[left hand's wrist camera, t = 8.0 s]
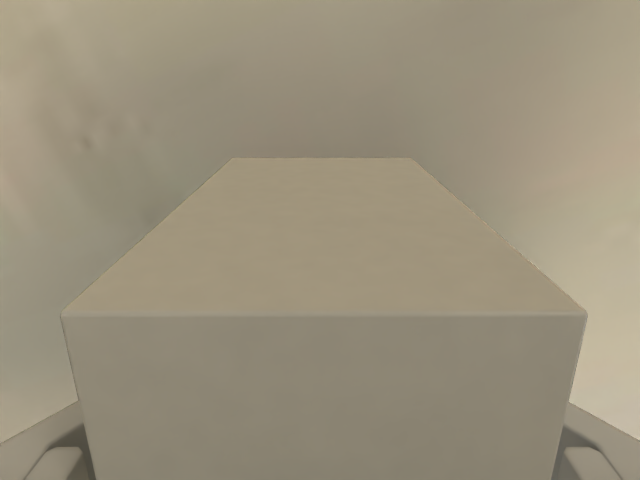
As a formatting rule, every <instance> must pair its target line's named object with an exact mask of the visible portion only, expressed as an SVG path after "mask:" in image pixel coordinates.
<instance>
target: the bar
mask: <svg viewBox="0 0 640 480" xmlns="http://www.w3.org/2000/svg"><path fill="white" fill-rule="evenodd" d="M60 318H61V323H62V327H63V332H64V336H65V341H66V345H67V350H68V354H69V359H70V363H71V368H72V372H73V377H74V381H75V386H76V391H77V395H78V400H79V404H80V409H81V413H82V418H83V422H84V427H85V431H86V436H87V440H88V445H89V449H90V454H91V458H92V463H93V468H94V472H95V477H96V480H551V477H552V472H553V468H554V464H555V459H556V455H557V450H558V446H559V441H560V437H561V433H562V428H563V424H564V419H565V415H566V410H567V406H568V402H569V397H570V393H571V388H572V384H573V379H574V375H575V371H576V366H577V362H578V357H579V353H580V348H581V344H582V340H583V335H584V331H585V326H586V322H587V318H588V316H587V312H586V310H584V309H583V308H582V307H581V306H580V305H579V304H578V303H576V302H575V301H574V300H573V299H572V298H571V297H570V296H568V295H567V294H566V293H565V292H564V291H563V290H562V289H560V288H559V287H558V286H557V285H556V284H555V283H554V282H552V281H551V280H550V279H549V278H548V277H547V276H546V275H544V274H543V273H542V272H541V271H540V270H539V269H538V268H536V267H535V266H534V265H533V264H532V263H531V262H530V261H528V260H527V259H526V258H525V257H524V256H523V255H522V254H520V253H519V252H518V251H517V250H516V249H515V248H514V247H512V246H511V245H510V244H509V243H508V242H507V241H506V240H504V239H503V238H502V237H501V236H500V235H499V234H498V233H496V232H495V231H494V230H493V229H492V228H491V227H490V226H488V225H487V224H486V223H485V222H484V221H483V220H482V219H480V218H479V217H478V216H477V215H476V214H475V213H474V212H472V211H471V210H470V209H469V208H468V207H467V206H466V205H464V204H463V203H462V202H461V201H460V200H459V199H458V198H456V197H455V196H454V195H453V194H452V193H451V192H450V191H448V190H447V189H446V188H445V187H444V186H443V185H442V184H440V183H439V182H438V181H437V180H436V179H435V178H434V177H432V176H431V175H430V174H429V173H428V172H427V171H426V170H424V169H423V168H422V167H421V166H420V165H419V164H418V163H416V162H415V161H414V160H413V159H412V158H232V159H231V160H229V161H228V162H227V163H226V164H225V165H224V166H223V167H222V168H220V169H219V170H218V171H217V172H216V173H215V174H214V175H213V176H212V177H210V178H209V179H208V180H207V181H206V182H205V183H204V184H203V185H202V186H200V187H199V188H198V189H197V190H196V191H195V192H194V193H193V194H191V195H190V196H189V197H188V198H187V199H186V200H185V201H184V202H183V203H181V204H180V205H179V206H178V207H177V208H176V209H175V210H174V211H173V212H171V213H170V214H169V215H168V216H167V217H166V218H165V219H164V220H162V221H161V222H160V223H159V224H158V225H157V226H156V227H155V228H154V229H152V230H151V231H150V232H149V233H148V234H147V235H146V236H145V237H144V238H142V239H141V240H140V241H139V242H138V243H137V244H136V245H135V246H133V247H132V248H131V249H130V250H129V251H128V252H127V253H126V254H125V255H123V256H122V257H121V258H120V259H119V260H118V261H117V262H116V263H115V264H113V265H112V266H111V267H110V268H109V269H108V270H107V271H106V272H104V273H103V274H102V275H101V276H100V277H99V278H98V279H97V280H96V281H94V282H93V283H92V284H91V285H90V286H89V287H88V288H87V289H86V290H84V291H83V292H82V293H81V294H80V295H79V296H78V297H77V298H75V299H74V300H73V301H72V302H71V303H70V304H69V305H68V306H67V307H65V308H64V309H63V310H62V311H61V315H60Z"/></svg>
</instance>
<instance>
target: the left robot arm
mask: <svg viewBox="0 0 640 480" xmlns="http://www.w3.org/2000/svg"><path fill="white" fill-rule="evenodd" d="M0 480H96V477H95V472H94V468H93V463H92V458H91V454H90V449H89V445H88V440H87V436H86V431H85V427H84V422H83V418H82V413H81V409H80V404H79V401H77V402H75V403H73V404H71V405H70V406H68V407H66V408H64V409H62V410H61V411H59V412H57V413H55V414H53V415H51V416H50V417H48V418H46V419H44V420H42V421H41V422H39V423H37V424H35V425H33V426H32V427H30V428H28V429H26V430H24V431H22V432H21V433H19V434H17V435H15V436H13V437H12V438H10V439H8V440H6V441H4V442H2V443H1V444H0ZM551 480H640V441H639V440H637V439H636V438H634V437H632V436H630V435H628V434H626V433H625V432H623V431H621V430H619V429H617V428H615V427H614V426H612V425H610V424H608V423H606V422H604V421H603V420H601V419H599V418H597V417H595V416H594V415H592V414H590V413H588V412H586V411H584V410H583V409H581V408H579V407H577V406H575V405H573V404H572V403H570V402H568V406H567V410H566V415H565V419H564V424H563V428H562V433H561V437H560V441H559V446H558V450H557V455H556V459H555V464H554V468H553V472H552V477H551Z"/></svg>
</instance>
